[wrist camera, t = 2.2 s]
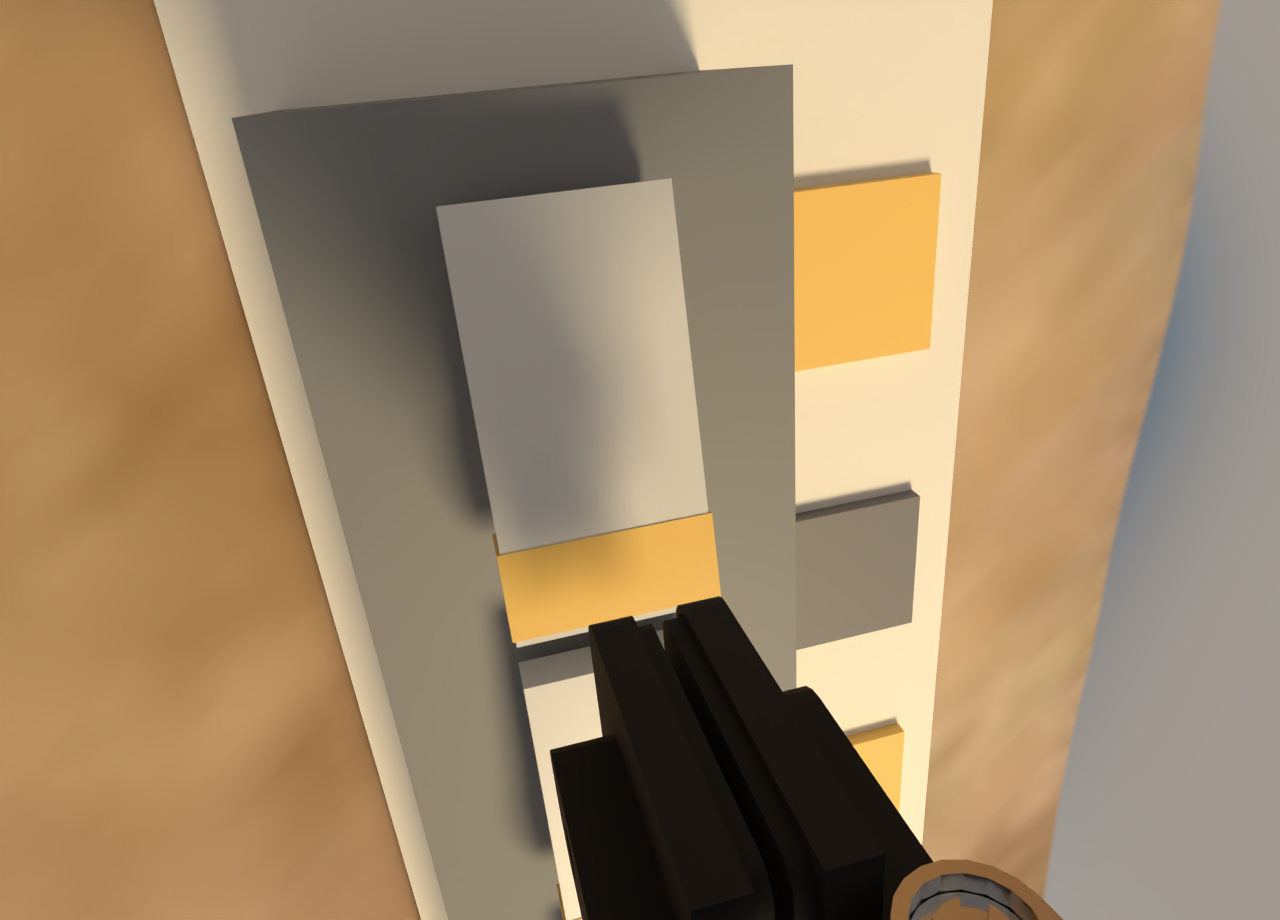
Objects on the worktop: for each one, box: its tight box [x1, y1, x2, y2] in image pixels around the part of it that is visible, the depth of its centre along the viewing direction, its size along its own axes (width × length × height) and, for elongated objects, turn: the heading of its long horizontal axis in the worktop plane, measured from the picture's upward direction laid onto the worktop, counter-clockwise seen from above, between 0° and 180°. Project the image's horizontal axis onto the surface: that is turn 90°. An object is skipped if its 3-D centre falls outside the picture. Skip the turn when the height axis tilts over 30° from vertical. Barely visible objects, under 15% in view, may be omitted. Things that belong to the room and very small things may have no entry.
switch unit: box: [154, 0, 993, 920], centre depth 20 cm, size 30×16×6 cm, turn 5°
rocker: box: [436, 178, 721, 648], centre depth 12 cm, size 6×3×1 cm, turn 5°
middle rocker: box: [518, 630, 665, 920], centre depth 16 cm, size 6×3×1 cm, turn 5°
